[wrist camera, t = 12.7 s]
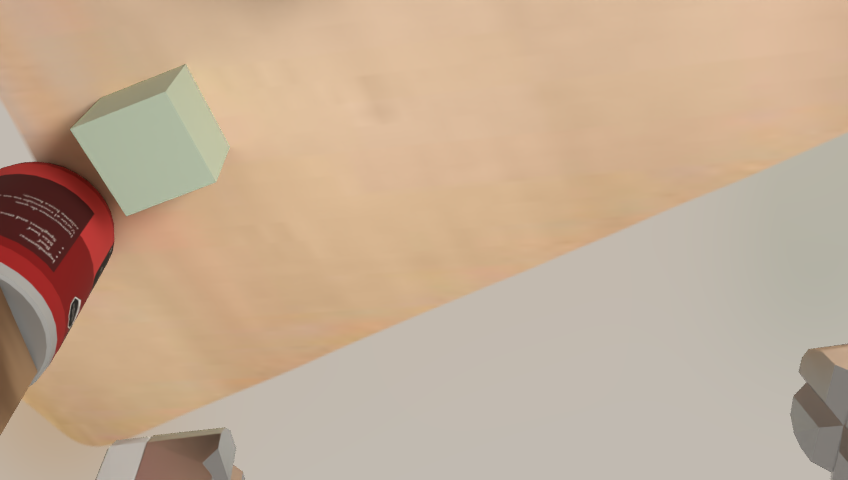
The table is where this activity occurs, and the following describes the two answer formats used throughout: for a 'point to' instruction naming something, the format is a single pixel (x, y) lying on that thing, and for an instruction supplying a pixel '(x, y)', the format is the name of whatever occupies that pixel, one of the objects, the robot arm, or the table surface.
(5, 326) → the walnut cube
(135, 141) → the sage block
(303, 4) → the table surface
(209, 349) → the table surface
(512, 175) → the table surface
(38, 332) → the canned food
